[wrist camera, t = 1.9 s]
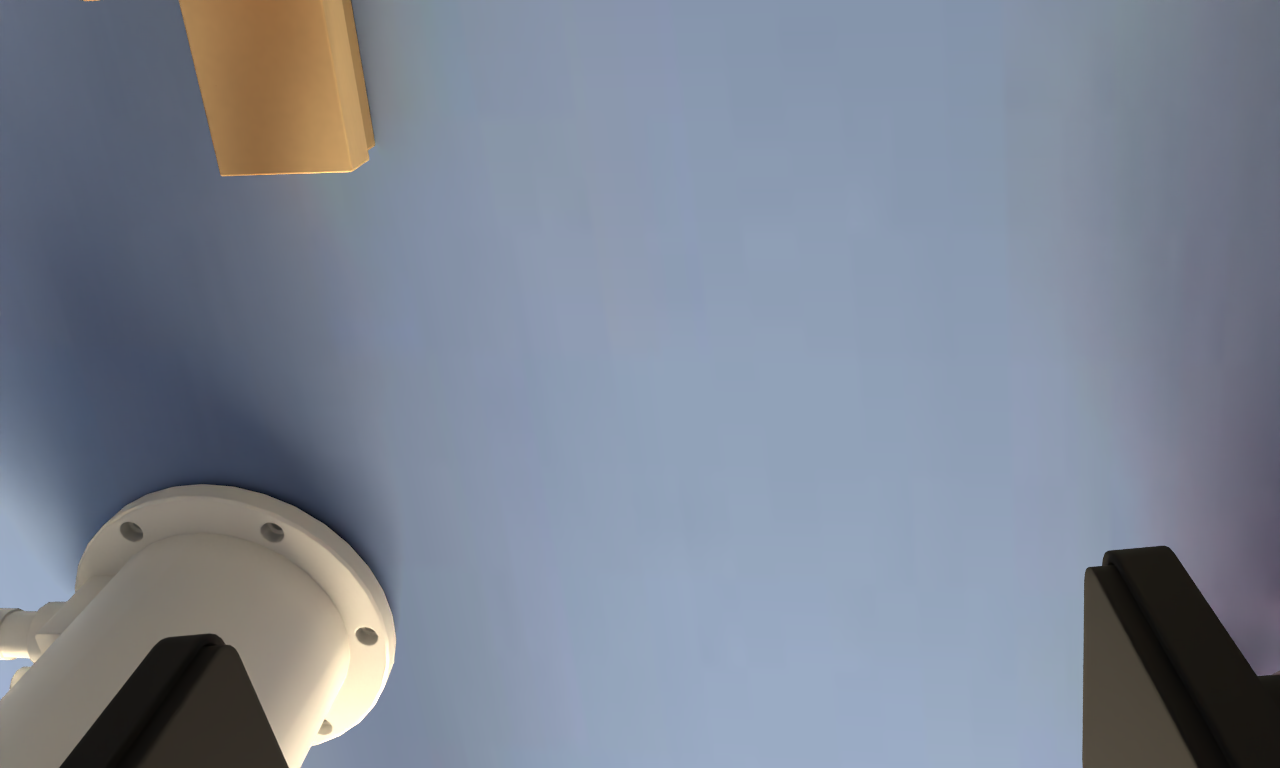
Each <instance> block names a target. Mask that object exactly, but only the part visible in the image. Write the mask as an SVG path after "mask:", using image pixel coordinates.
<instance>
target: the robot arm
mask: <svg viewBox="0 0 1280 768" xmlns="http://www.w3.org/2000/svg"><path fill="white" fill-rule="evenodd" d="M395 645H396V635H395V629H394V622H393V615H392V612H391V610H390V607H389V604H388V602H387V599H386V596H385V594H384V591H383V589H382V588H381V586H380V584H379V583H378V581H377V580H376V578H375V576H374V575H373V573H372V571H371V570H370V568H369V567H368V565H367V564H366V563H365V562H364V561H363V560H362V559H361V558H360V556H359V555H358V554H357V553H356V552H355V551H354V550H353V548H352V547H351V546H350V545H349V544H348V543H347V542H346V541H344V540H343V539H342V538H341V537H339V536H338V535H337V534H336V533H335V532H333V531H332V530H331V529H330V528H328V527H327V526H326V525H325V524H323V523H322V522H320V521H318V520H317V519H315V518H313V517H312V516H310V515H308V514H307V513H305V512H303V511H302V510H300V509H298V508H297V507H295V506H292V505H290V504H287V503H285V502H282V501H280V500H278V499H275V498H273V497H270V496H268V495H265V494H261V493H257V492H253V491H249V490H245V489H241V488H237V487H231V486H219V485H208V484H198V485H187V486H175V487H170V488H167V489H164V490H160V491H157V492H153V493H150V494H146V495H145V496H143V497H141V498H139V499H137V500H135V501H134V502H132V503H130V504H128V505H126V506H124V507H123V508H122V509H121V510H120V511H119V512H118V513H117V514H116V515H114V516H113V517H112V518H111V519H110V520H109V521H108V522H107V523H106V524H105V525H103V526H102V528H101V529H100V530H99V531H98V532H97V534H96V535H95V536H94V537H93V538H92V540H91V541H90V542H89V543H88V545H87V547H86V549H85V551H84V553H83V556H82V558H81V560H80V562H79V564H78V570H77V576H76V582H75V594H74V595H73V596H72V597H71V598H70V599H69V600H68V601H67V602H48V603H47V604H45V605H44V606H42V607H41V608H40V609H39V610H38V611H23V610H21V609H19V608H0V660H14V659H16V658H30V660H31V661H32V662H33V663H34V664H33V665H32V666H31V667H22V668H20V669H19V670H17V671H16V673H15V675H14V676H13V678H12V680H11V685H10V690H9V691H8V692H7V693H6V695H5V696H4V697H3V698H2V699H1V700H0V768H300V767H301V765H302V763H303V761H304V759H305V757H306V755H307V753H308V751H309V749H310V747H311V746H313V745H318V744H320V743H323V742H325V741H328V740H330V739H333V738H335V737H337V736H340V735H342V734H343V733H345V732H346V731H347V730H349V729H350V728H352V727H353V726H355V725H356V724H358V723H359V722H360V721H361V720H362V719H363V718H364V717H365V716H366V715H367V713H368V712H369V711H370V710H371V709H372V708H373V707H374V706H375V704H376V702H377V700H378V698H379V696H380V694H381V692H382V690H383V688H384V686H385V684H386V682H387V679H388V677H389V674H390V671H391V668H392V666H393V663H394V655H395ZM1082 761H1083V768H1280V675H1266V676H1257V675H1256V674H1255V672H1254V671H1253V669H1252V668H1251V666H1250V665H1249V663H1248V662H1247V660H1246V659H1245V658H1244V656H1243V655H1242V653H1241V652H1240V650H1239V649H1238V647H1237V646H1236V644H1235V643H1234V641H1233V640H1232V638H1231V637H1230V635H1229V634H1228V632H1227V631H1226V629H1225V628H1224V626H1223V625H1222V623H1221V622H1220V620H1219V619H1218V617H1217V616H1216V614H1215V613H1214V611H1213V610H1212V608H1211V607H1210V605H1209V604H1208V603H1207V601H1206V600H1205V598H1204V597H1203V595H1202V594H1201V592H1200V591H1199V589H1198V588H1197V586H1196V585H1195V583H1194V582H1193V580H1192V579H1191V577H1190V576H1189V574H1188V573H1187V571H1186V570H1185V568H1184V567H1183V565H1182V564H1181V562H1180V561H1179V559H1178V558H1177V556H1176V555H1175V554H1174V552H1173V551H1172V550H1171V549H1170V548H1169V547H1166V546H1156V547H1145V548H1134V549H1123V550H1112V551H1107V552H1106V553H1105V554H1104V557H1103V563H1102V566H1097V567H1088V568H1087V569H1086V572H1085V579H1084V664H1083V752H1082Z"/></svg>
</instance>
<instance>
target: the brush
mask: <svg viewBox="0 0 1280 768" xmlns="http://www.w3.org/2000/svg"><path fill="white" fill-rule="evenodd" d="M83 1H98V0H83ZM179 3H180V8H181V12H182V16H183V20H184V24H185V29H186V33H187V37H188V41H189V45H190V50H191V54H192V58H193V62H194V66H195V70H196V75H197V79H198V83H199V87H200V91H201V96H202V100H203V104H204V108H205V112H206V117H207V121H208V125H209V129H210V133H211V137H212V142H213V146H214V150H215V154H216V158H217V163H218V167H219V171H220V175H221V176H242V175H272V174H303V173H334V172H352V171H354V170H355V169H357V168H358V167H360V166H361V165H362V164H364V163H365V162H367V161H368V160H369V155H368V150H369V149H371V148H372V147H373V146H375V141H374V135H373V129H372V123H371V117H370V111H369V105H368V99H367V93H366V87H365V81H364V75H363V69H362V64H361V58H360V52H359V46H358V40H357V34H356V28H355V22H354V16H353V10H352V4H351V0H179Z"/></svg>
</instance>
